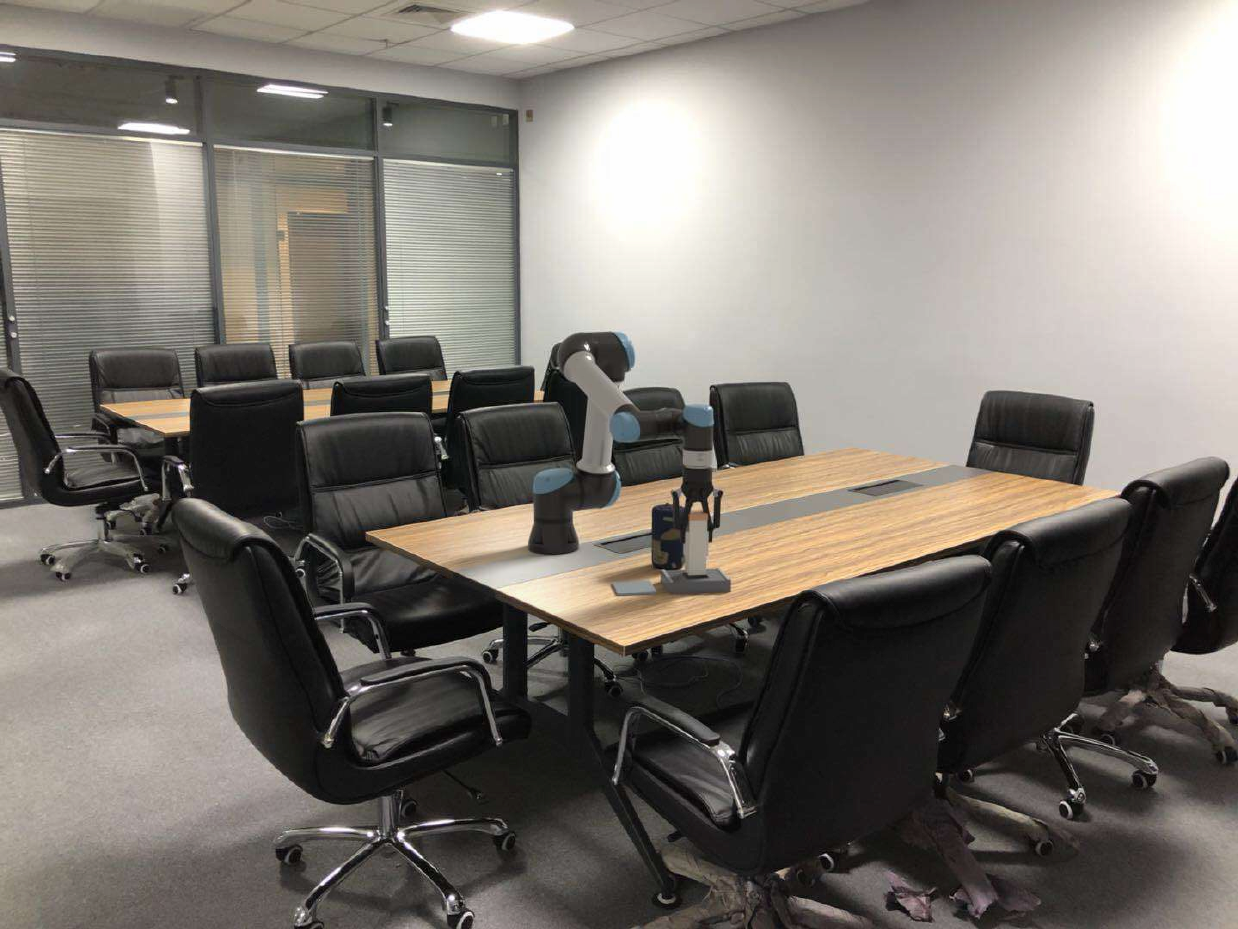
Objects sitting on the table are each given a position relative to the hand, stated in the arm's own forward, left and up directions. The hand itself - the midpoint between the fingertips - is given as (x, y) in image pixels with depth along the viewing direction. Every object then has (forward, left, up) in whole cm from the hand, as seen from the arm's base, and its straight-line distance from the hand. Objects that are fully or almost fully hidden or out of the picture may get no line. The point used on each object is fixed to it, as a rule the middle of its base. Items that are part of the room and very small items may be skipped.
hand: (695, 554), depth 250 cm
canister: (-3, +20, -9) cm, 22 cm away
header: (0, 0, -8) cm, 8 cm away
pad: (-16, 0, -8) cm, 18 cm away
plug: (0, 0, -5) cm, 5 cm away
